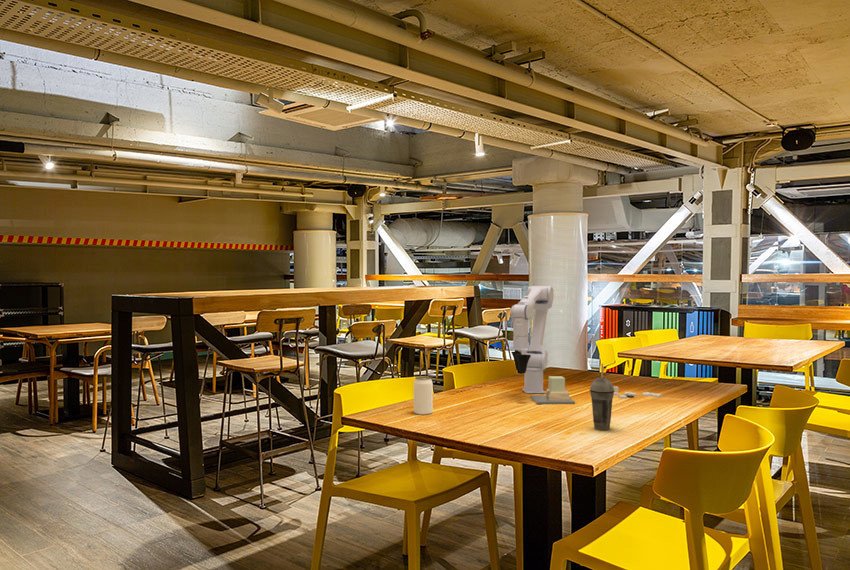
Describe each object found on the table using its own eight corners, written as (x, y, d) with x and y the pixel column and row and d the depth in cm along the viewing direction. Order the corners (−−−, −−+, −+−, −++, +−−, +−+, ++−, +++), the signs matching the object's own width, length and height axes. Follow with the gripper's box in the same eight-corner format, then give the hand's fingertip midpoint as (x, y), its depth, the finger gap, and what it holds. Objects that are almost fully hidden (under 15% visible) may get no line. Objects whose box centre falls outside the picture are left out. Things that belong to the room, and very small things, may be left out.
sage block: (548, 389, 238) (548, 376, 238) (561, 389, 238) (561, 376, 238) (551, 391, 233) (551, 378, 233) (564, 391, 233) (564, 378, 233)
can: (415, 415, 211) (415, 379, 210) (412, 411, 217) (412, 376, 217) (434, 414, 212) (434, 379, 211) (430, 410, 218) (430, 376, 218)
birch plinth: (546, 397, 239) (546, 389, 239) (564, 396, 239) (564, 389, 239) (550, 400, 232) (550, 392, 232) (569, 400, 232) (569, 392, 232)
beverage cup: (613, 426, 195) (613, 361, 194) (615, 432, 187) (615, 365, 187) (589, 425, 196) (589, 361, 196) (589, 430, 189) (590, 364, 189)
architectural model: (645, 405, 230) (645, 399, 230) (584, 397, 244) (584, 392, 244) (662, 396, 246) (662, 391, 246) (604, 390, 260) (604, 385, 260)
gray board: (530, 397, 242) (530, 395, 242) (566, 397, 243) (566, 395, 243) (537, 404, 229) (537, 401, 229) (575, 403, 230) (575, 401, 230)
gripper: (507, 334, 247) (507, 368, 247) (513, 337, 233) (513, 374, 233) (525, 334, 247) (525, 368, 248) (532, 337, 233) (532, 374, 233)
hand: (520, 371), depth 240 cm, fingers open, 7 cm apart
